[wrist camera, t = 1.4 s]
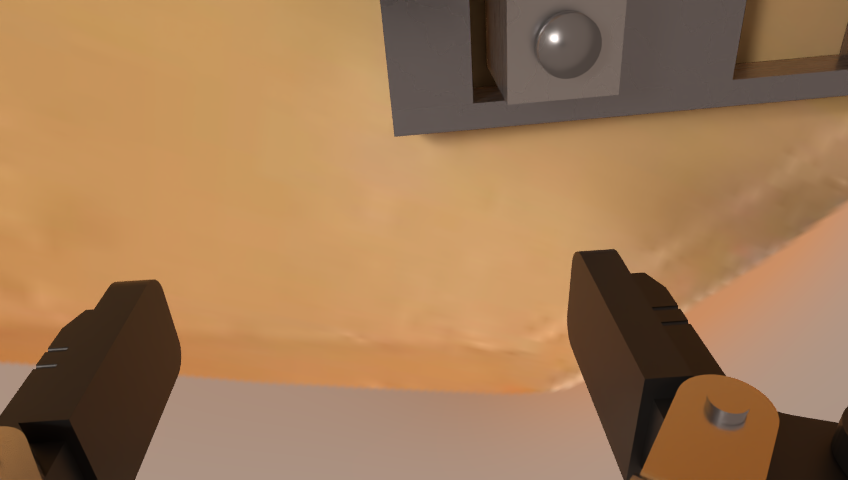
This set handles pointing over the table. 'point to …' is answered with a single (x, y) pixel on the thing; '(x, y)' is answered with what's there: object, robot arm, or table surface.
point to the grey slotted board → (639, 79)
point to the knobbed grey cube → (555, 48)
